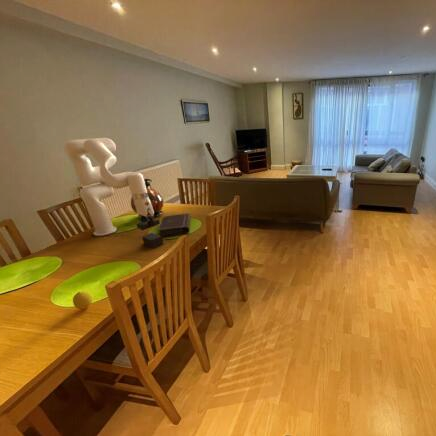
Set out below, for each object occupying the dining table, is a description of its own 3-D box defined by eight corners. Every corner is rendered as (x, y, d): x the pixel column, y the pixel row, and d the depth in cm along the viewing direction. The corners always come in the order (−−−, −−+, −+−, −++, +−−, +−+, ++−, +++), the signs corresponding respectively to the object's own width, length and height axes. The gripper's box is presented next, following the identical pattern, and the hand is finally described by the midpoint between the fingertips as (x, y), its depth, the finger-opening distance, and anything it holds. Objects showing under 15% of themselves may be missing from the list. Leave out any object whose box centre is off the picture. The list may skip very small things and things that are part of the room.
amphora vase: (142, 211, 195) (133, 177, 184) (170, 210, 197) (162, 176, 186) (129, 222, 175) (117, 185, 164) (160, 220, 177) (150, 183, 166)
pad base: (144, 244, 144) (142, 240, 143) (153, 240, 148) (152, 236, 147) (153, 248, 139) (152, 244, 138) (163, 243, 143) (162, 240, 142)
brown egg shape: (83, 303, 97) (76, 288, 94) (98, 302, 98) (91, 287, 95) (73, 314, 92) (65, 297, 89) (88, 313, 93) (81, 296, 89)
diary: (190, 219, 178) (189, 212, 176) (189, 232, 157) (188, 226, 155) (163, 222, 173) (161, 216, 171) (158, 237, 151) (156, 230, 149)
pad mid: (143, 240, 143) (141, 236, 142) (152, 236, 147) (151, 232, 146) (152, 244, 138) (151, 240, 137) (162, 240, 142) (161, 236, 141)
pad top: (143, 230, 134) (141, 226, 133) (137, 228, 137) (136, 224, 136) (160, 224, 142) (159, 219, 141) (154, 222, 145) (153, 218, 144)
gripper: (155, 196, 131) (163, 226, 138) (138, 192, 139) (146, 220, 146) (141, 200, 125) (150, 231, 132) (125, 195, 133) (134, 224, 140)
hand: (148, 225), depth 139 cm, fingers closed on pad top, 6 cm apart
